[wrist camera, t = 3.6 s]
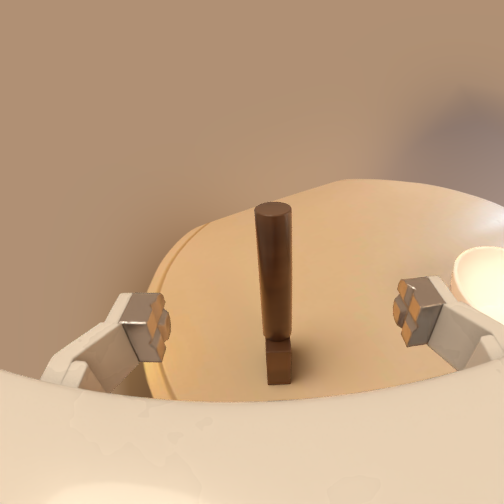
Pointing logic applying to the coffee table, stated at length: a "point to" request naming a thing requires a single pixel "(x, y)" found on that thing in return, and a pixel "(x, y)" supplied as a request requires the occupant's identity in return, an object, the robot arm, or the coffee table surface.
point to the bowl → (480, 280)
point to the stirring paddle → (275, 286)
